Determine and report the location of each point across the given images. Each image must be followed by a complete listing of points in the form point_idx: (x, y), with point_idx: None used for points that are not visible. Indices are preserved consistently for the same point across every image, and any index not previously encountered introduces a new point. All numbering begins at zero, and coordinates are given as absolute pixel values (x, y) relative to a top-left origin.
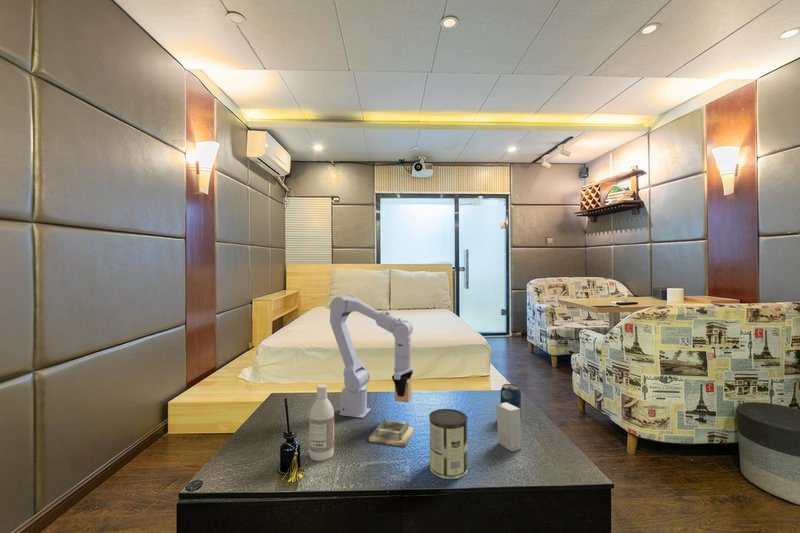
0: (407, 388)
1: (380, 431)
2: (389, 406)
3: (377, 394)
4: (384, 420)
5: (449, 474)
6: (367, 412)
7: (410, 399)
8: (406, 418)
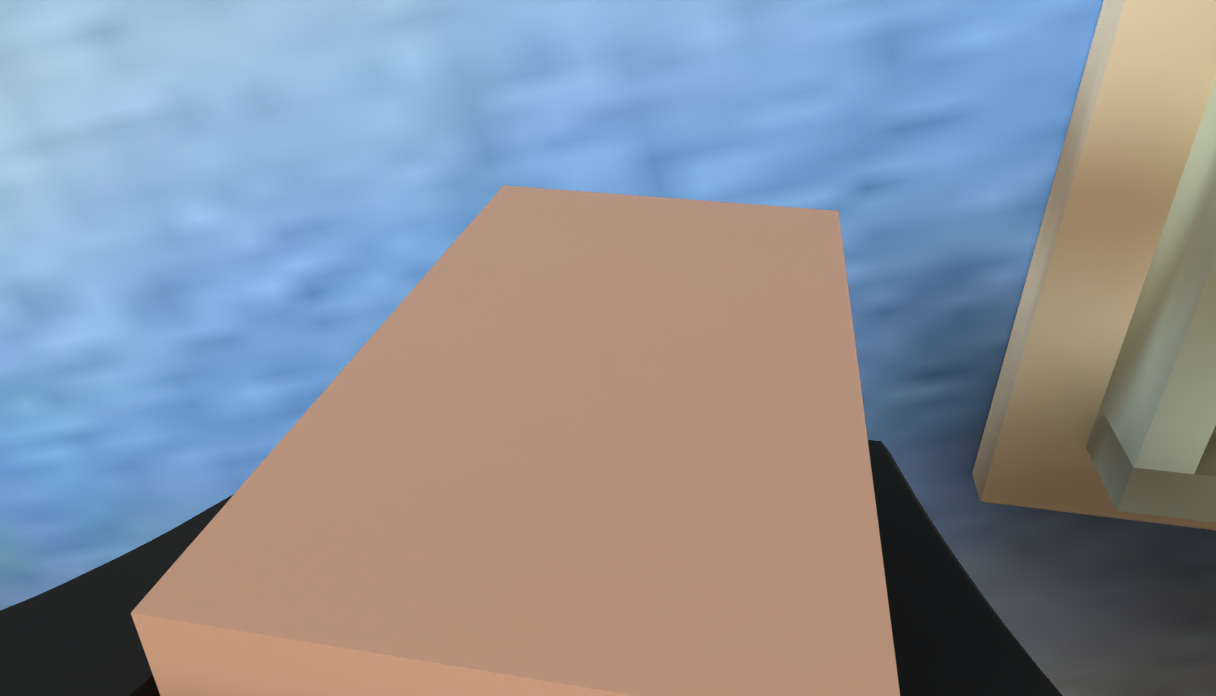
0: (860, 504)
1: None
2: None
3: None
4: (1155, 494)
5: None
6: None
7: (585, 192)
8: (620, 148)
